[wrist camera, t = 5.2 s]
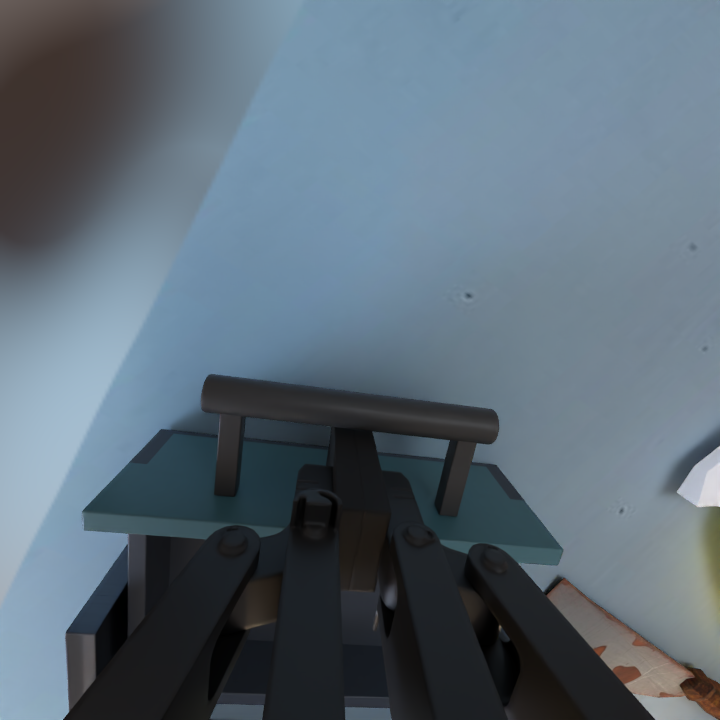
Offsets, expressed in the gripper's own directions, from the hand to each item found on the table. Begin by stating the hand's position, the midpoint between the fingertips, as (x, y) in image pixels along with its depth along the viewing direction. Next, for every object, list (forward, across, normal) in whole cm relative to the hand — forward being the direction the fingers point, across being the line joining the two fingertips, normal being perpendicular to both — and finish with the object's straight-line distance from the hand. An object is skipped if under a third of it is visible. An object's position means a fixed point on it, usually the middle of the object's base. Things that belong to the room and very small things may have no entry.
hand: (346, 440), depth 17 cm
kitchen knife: (+3, +23, -16) cm, 28 cm away
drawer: (+3, 0, -6) cm, 7 cm away
